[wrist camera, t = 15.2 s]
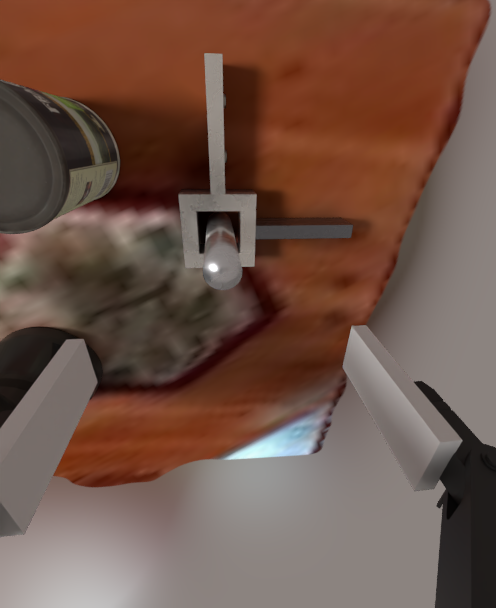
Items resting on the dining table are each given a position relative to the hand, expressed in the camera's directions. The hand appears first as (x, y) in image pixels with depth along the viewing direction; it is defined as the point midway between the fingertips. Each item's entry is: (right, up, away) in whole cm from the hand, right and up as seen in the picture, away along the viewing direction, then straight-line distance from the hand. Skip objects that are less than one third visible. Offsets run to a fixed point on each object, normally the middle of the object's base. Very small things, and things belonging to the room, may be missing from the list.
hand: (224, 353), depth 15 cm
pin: (-3, +13, +23) cm, 26 cm away
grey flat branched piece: (+3, +18, +20) cm, 28 cm away
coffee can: (-18, +19, +18) cm, 32 cm away
